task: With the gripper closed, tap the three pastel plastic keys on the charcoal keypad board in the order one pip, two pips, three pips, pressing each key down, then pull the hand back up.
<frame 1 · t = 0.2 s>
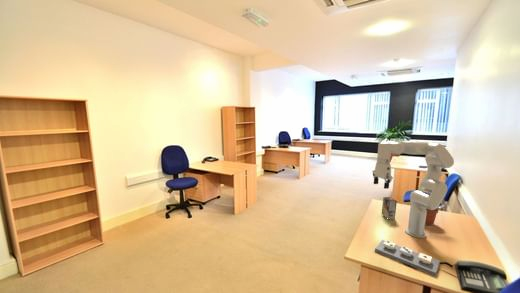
hand: (380, 186, 149), 37 cm above the table, tool pointing down, fingers open, 9 cm apart
tile 2: (389, 246, 138), point 3 cm above the table, slide at 0.0 cm
potted plant: (424, 222, 179), on the table
keypad board: (405, 257, 132), on the table
tile 3: (406, 252, 132), point 3 cm above the table, slide at 0.0 cm
tile 1: (424, 259, 126), point 3 cm above the table, slide at 0.0 cm
coffee box: (388, 217, 186), on the table
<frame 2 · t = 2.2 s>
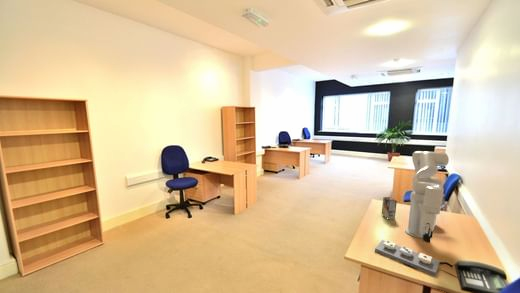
hand: (427, 239, 124), 16 cm above the table, tool pointing down, fingers open, 6 cm apart
nothing on the table moved.
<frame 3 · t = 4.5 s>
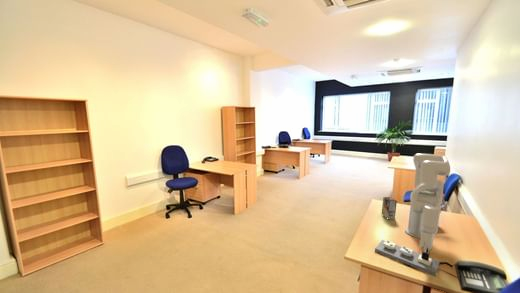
hand: (425, 258, 125), 4 cm above the table, tool pointing down, fingers closed
tile 1: (424, 261, 126), point 2 cm above the table, slide at 1.1 cm, touching gripper
everything else where it was.
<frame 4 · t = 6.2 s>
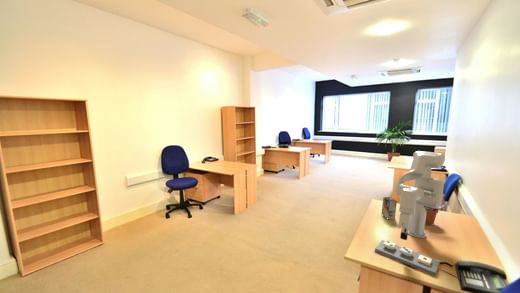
hand: (403, 238, 132), 11 cm above the table, tool pointing down, fingers closed
tile 1: (424, 261, 126), point 2 cm above the table, slide at 1.2 cm
everything else where it was.
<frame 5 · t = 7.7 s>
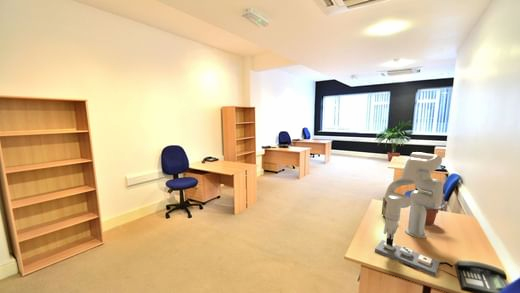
hand: (389, 244, 138), 5 cm above the table, tool pointing down, fingers closed
tile 2: (389, 246, 138), point 3 cm above the table, slide at 0.4 cm, touching gripper
everything else where it was.
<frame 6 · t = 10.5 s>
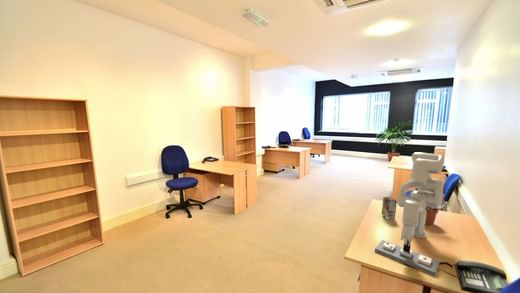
hand: (406, 250, 132), 4 cm above the table, tool pointing down, fingers closed
tile 2: (389, 247, 138), point 2 cm above the table, slide at 1.1 cm
tile 3: (406, 253, 132), point 3 cm above the table, slide at 0.6 cm, touching gripper
everything else where it was.
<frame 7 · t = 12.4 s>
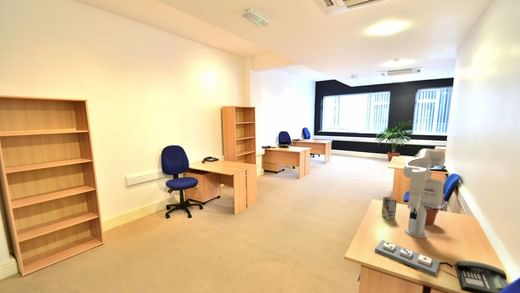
hand: (413, 218, 136), 21 cm above the table, tool pointing down, fingers closed
tile 3: (406, 254, 132), point 2 cm above the table, slide at 1.1 cm
everything else where it was.
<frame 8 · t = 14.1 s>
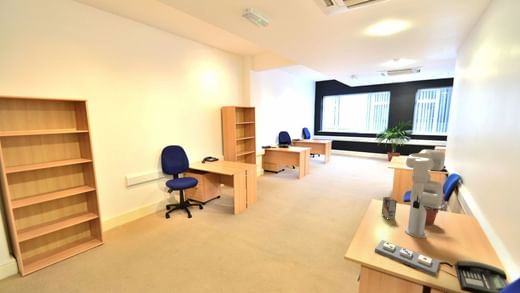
hand: (415, 207, 139), 27 cm above the table, tool pointing down, fingers closed
nothing on the table moved.
at the end: tile 1 slide at 1.2 cm; tile 2 slide at 1.1 cm; tile 3 slide at 1.1 cm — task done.
